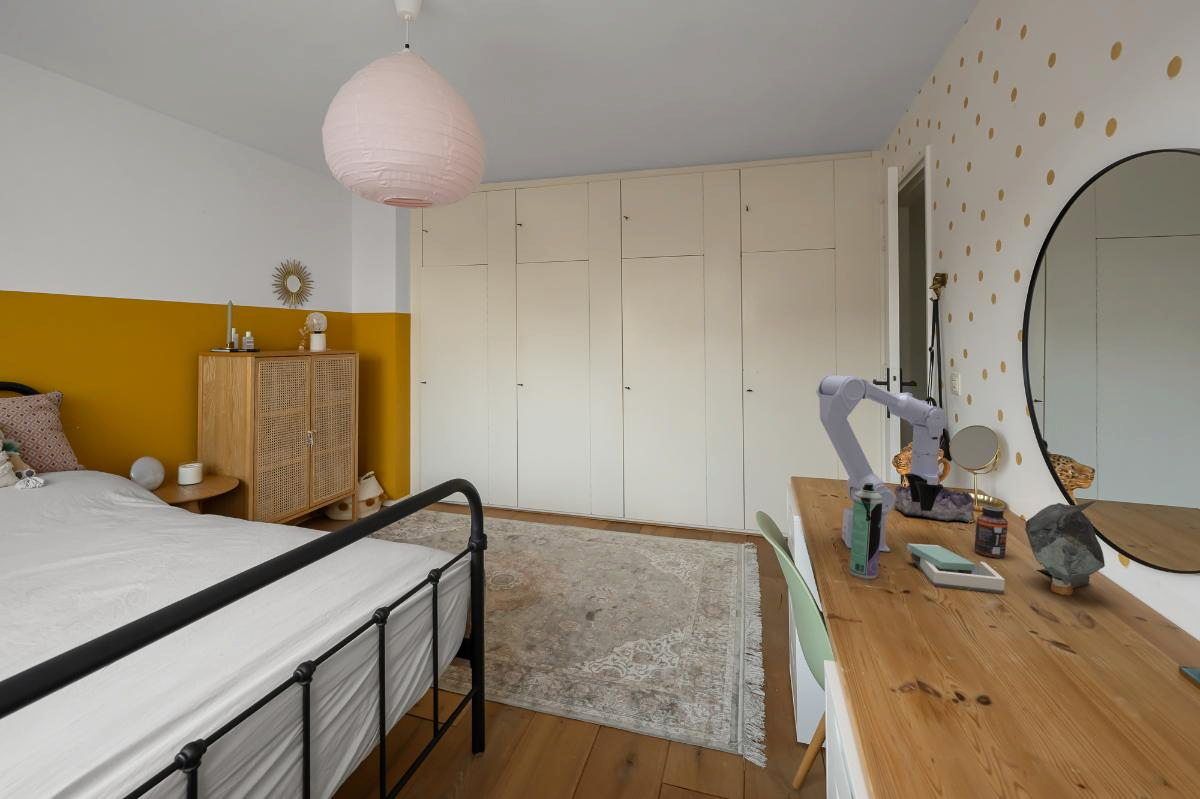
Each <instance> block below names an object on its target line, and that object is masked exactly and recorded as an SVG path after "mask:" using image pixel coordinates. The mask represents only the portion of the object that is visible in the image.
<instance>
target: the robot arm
mask: <svg viewBox="0 0 1200 799" xmlns="http://www.w3.org/2000/svg"><path fill="white" fill-rule="evenodd" d="M815 393H816V395H817V396H818V398H819V402H818V403H819V419H820V422H821V424H822V426H823V428H824V430H825V431H826V433H827V436H828V437H829V440H830V441H831V444H832V446H833V448H834V449H835V451H836V454H837V456H838V458H839V460H840V461H841V463H842V466H843V467H844V469H845V471H846V473H847V475H848V479H847V480H846V485H847V487H848V497H849V499H850V500H851V502H852V506H853V505H854V496H855V492H858V491H860V490H861V489H862V488H863V487H864V484H867V483H871V484H873V488H874V489H875V490H876V492H877V493H878V494H879V495H881V496H882V500H883V501H882V516H881V532H880V547H879V552H889V553H890V551H891V549H890V548H889V547H888V545H887V544H886V531H887V530H886V528H887V515H889V512H890V511H891V510H892V509H893V508H894V504H895V500H896V497H895V496H896V495H895V493H894V491H892V490H891V489H889V488H888V487H887V486H886V484H885V482H884V481H883V480H882V479H881V478H879V477H878V475H877V474H875V473H874V471H873V469H872V466H870V463H869V461H868V459H867V457H866V455H865V453H864V451H863V448H862V447H861V444H860V443H859V440H858V439H857V437H856V435H855V433H854V430H853V428H852V427H851V425H850V423H849V421H848V416H849V415H850V414H851V413H852V412H853V410H854V409H855V408H856V406H857V405H858V404H860V401H861V400H863V399H864V400H866V399H868V400H870V401H873V402H876V403H877V404H881V405H883V406H885V407H888V412H889V413H890V414H892V415H893V416H895V417H898V418H900V419H902V420H905V421H907V422H908V423H909V424H910V425H911V426H913V430H912V431H913V433H912V434H913V435H912V447H911V458H910V459H911V460H910V468H909V473H904V475H905V478H906V481H907V483H908V486H909V487H910V493H911V499H912V502H920V508H921V510H922V511H931V510H932V508H933V505H934V502H935V500H936V497H937V495H938V494H939V492H940V491H941V490H942V489H943V488H944V485H943V484H940V483H939V477H938V476H939V475H940V476H943V475H944V472H943V471H942V470H939V469H938V466H939V455H940V454H939V453H940V443H941V437H942V435H943V429H944V428H945V427H946V425H947V423H948V420H949V418H948V417H947V415H946V412H945V411H944V409H943V408H941V407H939V406H934V405H929V403H928V402H929V401H926V400H923V399H922V400H919V399H917V398H915V397H913V393H910V392H905V391H904V392H898V393H896V394H895V393H893V392H890V391H889V390H886V389H885V388H883V387H880V386H879V385H877V384H874V383H873V382H870V381H869V380H867V379H865V378H860V377H858V376H854V375H853V376H852V375H851V376H846V375H837V374H834V373H833V374H830V373H829V374H827V375H825V376H824V377H822V379H821V380H820V381H819V384H818V386H817V389H816V392H815ZM852 521H853V507H852V508H847V507H846V508H844V510H843V519H842V535H841V538H842V540H843V542H844V544H845V546H846V547H847V548H848V549H851V538H852Z"/></svg>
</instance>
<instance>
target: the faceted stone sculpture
mask: <svg viewBox="0 0 1200 799" xmlns="http://www.w3.org/2000/svg"><path fill="white" fill-rule="evenodd" d="M1096 502H1097V500H1092V501H1089V502H1083V503H1080V504H1075V505H1072V504H1064V503H1061V502H1057V503H1055V504H1054V503H1053V504H1049V505H1048V506H1046V507H1045V508H1042V509H1040V511H1038V512H1037V513H1035V514H1034V515H1033V516H1032V517H1030V518H1029V519H1027V520H1026V521H1025V529H1024V531H1025V534H1026V535H1027V539H1028V542H1029V545H1030V548H1031V550H1032V554H1033V556H1034V558H1035V560H1036V562H1038V563H1039V564H1040V565H1042V566H1043V567H1044V568H1041V569H1037V571H1038V572H1041V573H1043V574H1047V575H1049V576H1052V580H1051V586H1050V590H1051V591H1052V592H1054V593H1057V594H1059V595H1061V596H1062V595H1063V596H1068V597H1069V596H1074V590H1073V589H1075V588H1078V587H1081V586H1085V585H1088V584H1090V578H1091V575H1094V573H1097V572H1099V571H1100V570H1102V569H1103V568H1105V566H1106V563H1105V558H1104V556H1105V555H1104V553H1103V549H1102V546H1101V544H1100V542H1099V540H1098V537H1097V536H1096V532H1095V529H1094V527H1093V525H1092V524H1091V519H1089V517H1088V516H1087V515H1086V514H1085V513H1084V512H1083V511H1084V510H1086V509H1087V508H1089V507H1090V506H1091V505H1092V504H1094V503H1096Z"/></svg>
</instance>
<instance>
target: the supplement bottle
mask: <svg viewBox="0 0 1200 799" xmlns="http://www.w3.org/2000/svg"><path fill="white" fill-rule="evenodd" d="M1004 511H1005V510H1004V509H1003V508H1001V507H997V506H991V505H984V506H983V507H982V511H981V512H982V513H980V514H978V515H977V517H976V524H975V525H976V526H975V536H974V537H975V538H974V547H973V548H974V551H975V552H976V553H978V554H979V555H980V556H984V557H987V556H988V558H992V557H995V558H994V559H1001V557H1002V558H1004V557H1005V555H1006V554H1005V553H1006V545H1007V536H1008V524H1009V522H1008V520H1007V518H1005V517H1004Z"/></svg>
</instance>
